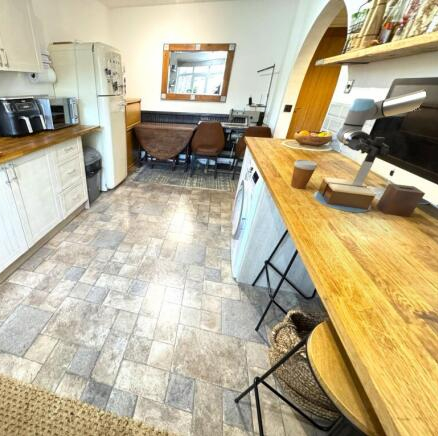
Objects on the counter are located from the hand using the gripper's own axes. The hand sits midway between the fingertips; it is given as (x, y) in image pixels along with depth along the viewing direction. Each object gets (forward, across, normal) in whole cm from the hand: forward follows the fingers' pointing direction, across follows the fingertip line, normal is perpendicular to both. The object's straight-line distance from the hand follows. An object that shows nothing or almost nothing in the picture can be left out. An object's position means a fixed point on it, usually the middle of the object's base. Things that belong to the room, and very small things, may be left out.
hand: (381, 153), depth 86 cm
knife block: (-2, -14, -22) cm, 26 cm away
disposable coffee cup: (-17, +17, -23) cm, 33 cm away
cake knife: (-5, 0, -16) cm, 17 cm away
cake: (-5, +3, -22) cm, 23 cm away
